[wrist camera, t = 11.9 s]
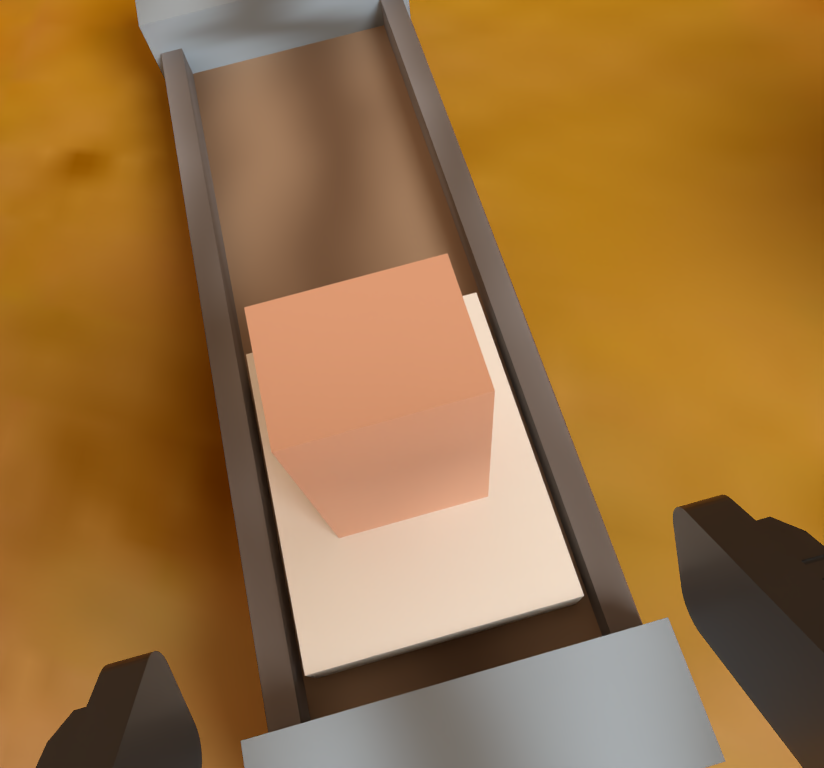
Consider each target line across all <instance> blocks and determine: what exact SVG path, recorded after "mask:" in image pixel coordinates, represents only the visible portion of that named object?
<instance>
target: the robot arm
mask: <svg viewBox="0 0 824 768" xmlns="http://www.w3.org/2000/svg"><path fill="white" fill-rule="evenodd" d="M673 524H674V532H675V540H676V548H677V556H678V564H679V572H680V580H681V587H682V593H683V597H684V601H685V604H686V607H687V609H688V612H689V614H690V616H691V619H692V621H693V623H694V624H695V626H696V628H697V629H698V631H699V632H700V634H701V635H702V636H703V638H704V639H705V640H706V642H707V643H708V644H709V645H710V647H711V648H712V649H713V651H714V652H715V653H716V655H717V656H718V657H719V658H720V660H721V661H722V662H723V664H724V665H725V666H726V668H727V669H728V670H729V672H730V673H731V674H732V675H733V677H734V678H735V679H736V681H737V682H738V683H739V685H740V686H741V687H742V689H743V690H744V691H745V692H746V694H747V695H748V696H749V698H750V699H751V700H752V702H753V703H754V704H755V706H756V707H757V708H758V709H759V711H760V712H761V713H762V715H763V716H764V717H765V719H766V720H767V721H768V723H769V724H770V725H771V726H772V728H773V729H774V730H775V732H776V733H777V734H778V736H779V737H780V738H781V740H782V741H783V742H784V743H785V745H786V746H787V747H788V749H789V750H790V751H791V753H792V754H793V755H794V757H795V758H796V759H797V760H798V762H799V763H800V764H801V766H802V767H803V768H824V546H823V545H822V544H821V543H819V542H818V541H817V540H816V539H815V538H813V537H812V536H811V535H810V534H808V533H807V532H806V531H804V530H802V529H799V528H797V527H794V526H792V525H789V524H787V523H784V522H782V521H779V520H777V519H774V518H772V517H767V518H764V519H760V520H757V521H756V520H754V519H753V518H752V517H751V516H750V515H749V514H748V513H747V512H745V511H744V510H743V509H742V508H741V507H740V506H739V505H737V504H736V503H735V502H734V501H733V500H732V499H731V498H729V497H728V496H726V495H719V496H716V497H712V498H709V499H705V500H702V501H698V502H694V503H691V504H687V505H684V506H680V507H676V508H675V510H674V512H673ZM36 768H202V753H201V744H200V738H199V734H198V731H197V728H196V725H195V723H194V721H193V718H192V716H191V714H190V712H189V709H188V707H187V705H186V703H185V701H184V698H183V696H182V694H181V692H180V689H179V687H178V685H177V683H176V681H175V678H174V676H173V674H172V672H171V670H170V667H169V665H168V663H167V661H166V659H165V658H164V656H163V655H162V654H161V653H160V652H158V651H154V652H151V653H147V654H144V655H140V656H136V657H133V658H129V659H126V660H122V661H119V662H115V663H111V664H108V665H106V666H105V667H104V668H103V669H102V671H101V673H100V675H99V677H98V680H97V682H96V685H95V687H94V690H93V692H92V695H91V697H90V699H89V702H88V704H87V707H84V708H81V709H77V710H74V711H73V712H72V713H71V714H70V716H69V717H68V718H67V719H66V721H65V722H64V723H63V724H62V725H61V727H60V728H59V729H58V730H57V731H56V733H55V734H54V735H53V736H52V737H51V739H50V740H49V741H48V742H47V744H46V746H45V748H44V751H43V753H42V755H41V757H40V760H39V762H38V764H37V766H36Z"/></svg>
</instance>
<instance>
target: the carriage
mask: <svg viewBox="0 0 824 768" xmlns="http://www.w3.org/2000/svg"><path fill="white" fill-rule="evenodd" d="M244 309H245V315H246V320H247V325H248V330H249V336H250V341H251V346H252V352H253V353H249V354H246V358H247V363H248V369H249V374H250V379H251V385H252V390H253V396H254V401H255V407H256V412H257V418H258V423H259V428H260V434H261V439H262V445H263V450H264V456H265V461H266V467H267V472H268V478H269V483H270V488H271V494H272V499H273V505H274V510H275V516H276V521H277V527H278V532H279V538H280V543H281V548H282V554H283V559H284V565H285V570H286V576H287V581H288V587H289V592H290V598H291V603H292V608H293V614H294V619H295V625H296V630H297V636H298V641H299V647H300V652H301V658H302V663H303V668H304V674H305V676H309V677H314V678H320V677H323V676H327V675H330V674H334V673H337V672H341V671H344V670H348V669H351V668H355V667H358V666H362V665H365V664H369V663H372V662H376V661H379V660H383V659H386V658H390V657H393V656H397V655H400V654H404V653H407V652H411V651H414V650H417V649H421V648H424V647H428V646H431V645H435V644H438V643H442V642H445V641H449V640H452V639H456V638H459V637H463V636H466V635H470V634H473V633H477V632H480V631H484V630H487V629H491V628H494V627H498V626H501V625H505V624H508V623H512V622H515V621H519V620H522V619H526V618H529V617H533V616H536V615H540V614H543V613H547V612H550V611H554V610H557V609H560V608H564V607H567V606H571V605H574V604H577V603H578V602H579V601H580V600H581V598H582V597H583V596H584V594H583V591H582V588H581V585H580V583H579V580H578V577H577V574H576V571H575V569H574V566H573V563H572V560H571V557H570V554H569V552H568V549H567V546H566V543H565V540H564V538H563V535H562V532H561V529H560V526H559V524H558V521H557V518H556V515H555V512H554V509H553V507H552V504H551V501H550V498H549V495H548V493H547V490H546V487H545V484H544V481H543V479H542V476H541V473H540V470H539V467H538V464H537V462H536V459H535V456H534V453H533V450H532V448H531V445H530V442H529V439H528V436H527V433H526V431H525V428H524V425H523V422H522V419H521V417H520V414H519V411H518V408H517V405H516V403H515V400H514V397H513V394H512V391H511V388H510V386H509V383H508V380H507V377H506V374H505V372H504V369H503V366H502V363H501V360H500V358H499V355H498V352H497V349H496V346H495V343H494V341H493V338H492V335H491V332H490V329H489V327H488V324H487V321H486V318H485V315H484V313H483V310H482V307H481V304H480V301H479V298H478V296H477V293H472V294H469V295H465V296H462V294H461V291H460V288H459V285H458V282H457V279H456V276H455V273H454V270H453V268H452V265H451V262H450V259H449V256H448V253H447V254H443V255H439V256H435V257H432V258H428V259H424V260H420V261H417V262H413V263H409V264H405V265H402V266H398V267H394V268H390V269H387V270H383V271H379V272H375V273H372V274H368V275H364V276H360V277H357V278H353V279H349V280H345V281H342V282H338V283H334V284H330V285H327V286H323V287H319V288H315V289H312V290H308V291H304V292H300V293H297V294H293V295H289V296H285V297H282V298H278V299H274V300H270V301H267V302H263V303H259V304H255V305H251V306H248V307H244Z"/></svg>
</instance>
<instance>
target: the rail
mask: <svg viewBox="0 0 824 768" xmlns="http://www.w3.org/2000/svg"><path fill="white" fill-rule="evenodd" d="M135 2H136V9H137V16H138V23H139V27H140V29H141V31H142V33H143V35H144V37H145V39H146V41H147V43H148V45H149V47H150V49H151V52H152V54H153V56H154V58H155V60H156V62H157V64H158V66H159V68H160V70H161V72H162V74H163V76H164V78H165V81H166V87H167V94H168V100H169V106H170V113H171V119H172V125H173V132H174V138H175V144H176V151H177V157H178V163H179V170H180V176H181V182H182V189H183V195H184V201H185V208H186V214H187V220H188V227H189V233H190V239H191V246H192V252H193V258H194V265H195V271H196V277H197V284H198V290H199V296H200V303H201V309H202V315H203V322H204V328H205V334H206V341H207V347H208V353H209V360H210V366H211V372H212V379H213V385H214V391H215V398H216V404H217V410H218V416H219V423H220V429H221V435H222V442H223V448H224V454H225V461H226V467H227V473H228V480H229V486H230V492H231V499H232V505H233V511H234V518H235V524H236V530H237V537H238V543H239V549H240V556H241V562H242V568H243V575H244V581H245V587H246V594H247V600H248V606H249V613H250V619H251V625H252V632H253V638H254V644H255V651H256V657H257V663H258V670H259V676H260V682H261V689H262V695H263V701H264V708H265V714H266V720H267V727H268V733H266V734H263V735H259V736H256V737H252V738H249V739H245V740H242V741H241V747H242V754H243V761H244V768H705V767H708V766H712V765H715V764H718V763H722V762H725V759H724V757H723V754H722V751H721V749H720V746H719V744H718V741H717V739H716V736H715V734H714V731H713V729H712V726H711V724H710V721H709V719H708V716H707V714H706V711H705V709H704V706H703V704H702V701H701V699H700V696H699V694H698V691H697V689H696V686H695V684H694V681H693V679H692V676H691V674H690V671H689V669H688V666H687V664H686V661H685V659H684V656H683V654H682V651H681V649H680V646H679V644H678V641H677V639H676V636H675V634H674V631H673V629H672V626H671V624H670V621H669V619H668V618H664V619H661V620H657V621H654V622H651V623H647V624H644V625H643V624H642V621H641V619H640V616H639V614H638V611H637V608H636V606H635V603H634V600H633V598H632V595H631V593H630V590H629V587H628V585H627V582H626V580H625V577H624V574H623V572H622V569H621V567H620V564H619V561H618V559H617V556H616V554H615V551H614V548H613V546H612V543H611V540H610V538H609V535H608V533H607V530H606V527H605V525H604V522H603V520H602V517H601V514H600V512H599V509H598V507H597V504H596V501H595V499H594V496H593V494H592V491H591V488H590V486H589V483H588V480H587V478H586V475H585V473H584V470H583V467H582V465H581V462H580V460H579V457H578V454H577V452H576V449H575V447H574V444H573V441H572V439H571V436H570V433H569V431H568V428H567V426H566V423H565V420H564V418H563V415H562V413H561V410H560V407H559V405H558V402H557V400H556V397H555V394H554V392H553V389H552V387H551V384H550V381H549V379H548V376H547V373H546V371H545V368H544V366H543V363H542V360H541V358H540V355H539V353H538V350H537V347H536V345H535V342H534V340H533V337H532V334H531V332H530V329H529V327H528V324H527V321H526V319H525V316H524V313H523V311H522V308H521V306H520V303H519V300H518V298H517V295H516V293H515V290H514V287H513V285H512V282H511V280H510V277H509V274H508V272H507V269H506V267H505V264H504V261H503V259H502V256H501V253H500V251H499V248H498V246H497V243H496V240H495V238H494V235H493V233H492V230H491V227H490V225H489V222H488V220H487V217H486V214H485V212H484V209H483V207H482V204H481V201H480V199H479V196H478V193H477V191H476V188H475V186H474V183H473V180H472V178H471V175H470V173H469V170H468V167H467V165H466V162H465V160H464V157H463V154H462V152H461V149H460V146H459V144H458V141H457V139H456V136H455V133H454V131H453V128H452V126H451V123H450V120H449V118H448V115H447V113H446V110H445V107H444V105H443V102H442V100H441V97H440V94H439V92H438V89H437V86H436V84H435V81H434V79H433V76H432V73H431V71H430V68H429V66H428V63H427V60H426V58H425V55H424V53H423V50H422V47H421V45H420V42H419V40H418V37H417V34H416V32H415V29H414V26H413V24H412V21H411V19H410V8H409V0H135ZM447 253H448V256H449V259H450V262H451V265H452V268H453V270H454V273H455V276H456V279H457V282H458V285H459V288H460V291H461V294H462V296H465V295H469V294H472V293H477V296H478V298H479V301H480V304H481V307H482V310H483V313H484V315H485V318H486V321H487V324H488V327H489V329H490V332H491V335H492V338H493V341H494V343H495V346H496V349H497V352H498V355H499V358H500V360H501V363H502V366H503V369H504V372H505V374H506V377H507V380H508V383H509V386H510V388H511V391H512V394H513V397H514V400H515V403H516V405H517V408H518V411H519V414H520V417H521V419H522V422H523V425H524V428H525V431H526V433H527V436H528V439H529V442H530V445H531V448H532V450H533V453H534V456H535V459H536V462H537V464H538V467H539V470H540V473H541V476H542V479H543V481H544V484H545V487H546V490H547V493H548V495H549V498H550V501H551V504H552V507H553V509H554V512H555V515H556V518H557V521H558V524H559V526H560V529H561V532H562V535H563V538H564V540H565V543H566V546H567V549H568V552H569V554H570V557H571V560H572V563H573V566H574V569H575V571H576V574H577V577H578V580H579V583H580V585H581V588H582V591H583V594H584V596H583V597H582V598H581V600H580V601H579V602H578V603H577V604H574V605H571V606H567V607H564V608H560V609H557V610H554V611H550V612H547V613H543V614H540V615H536V616H533V617H529V618H526V619H522V620H519V621H515V622H512V623H508V624H505V625H501V626H498V627H494V628H491V629H487V630H484V631H480V632H477V633H473V634H470V635H466V636H463V637H459V638H456V639H452V640H449V641H445V642H442V643H438V644H435V645H431V646H428V647H424V648H421V649H417V650H414V651H411V652H407V653H404V654H400V655H397V656H393V657H390V658H386V659H383V660H379V661H376V662H372V663H369V664H365V665H362V666H358V667H355V668H351V669H348V670H344V671H341V672H337V673H334V674H330V675H327V676H323V677H320V678H314V677H309V676H305V674H304V668H303V663H302V658H301V652H300V647H299V641H298V636H297V630H296V625H295V619H294V614H293V608H292V603H291V598H290V592H289V587H288V581H287V576H286V570H285V565H284V559H283V554H282V548H281V543H280V538H279V532H278V527H277V521H276V516H275V510H274V505H273V499H272V494H271V488H270V483H269V478H268V472H267V467H266V461H265V456H264V450H263V445H262V439H261V434H260V428H259V423H258V418H257V412H256V407H255V401H254V396H253V390H252V385H251V379H250V374H249V369H248V363H247V358H246V354H249V353H253V352H252V346H251V341H250V336H249V330H248V325H247V320H246V315H245V309H244V307H248V306H251V305H255V304H259V303H263V302H267V301H270V300H274V299H278V298H282V297H285V296H289V295H293V294H297V293H300V292H304V291H308V290H312V289H315V288H319V287H323V286H327V285H330V284H334V283H338V282H342V281H345V280H349V279H353V278H357V277H360V276H364V275H368V274H372V273H375V272H379V271H383V270H387V269H390V268H394V267H398V266H402V265H405V264H409V263H413V262H417V261H420V260H424V259H428V258H432V257H435V256H439V255H443V254H447Z"/></svg>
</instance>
